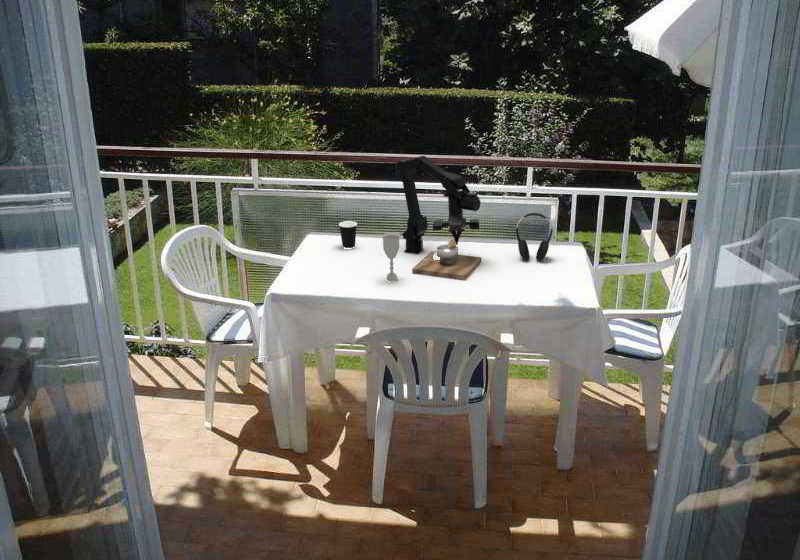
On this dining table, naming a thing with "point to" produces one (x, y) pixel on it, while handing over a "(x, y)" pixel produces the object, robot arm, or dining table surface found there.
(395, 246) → the chalice
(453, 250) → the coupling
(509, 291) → the dining table surface
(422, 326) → the dining table surface
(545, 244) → the headphones
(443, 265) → the wooden cutting board
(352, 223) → the dixie cup
